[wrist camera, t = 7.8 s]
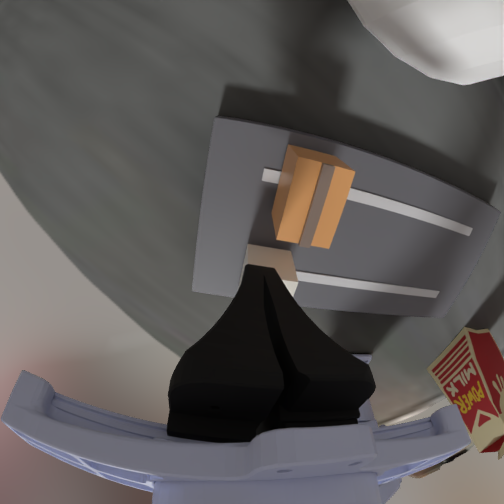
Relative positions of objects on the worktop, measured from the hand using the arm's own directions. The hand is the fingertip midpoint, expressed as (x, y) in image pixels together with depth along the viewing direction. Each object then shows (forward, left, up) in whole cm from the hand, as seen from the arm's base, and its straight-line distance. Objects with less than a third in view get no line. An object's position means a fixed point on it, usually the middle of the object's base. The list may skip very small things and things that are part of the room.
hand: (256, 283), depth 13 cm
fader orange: (+3, -2, -6) cm, 7 cm away
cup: (+19, -7, -9) cm, 22 cm away
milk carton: (-15, -35, -9) cm, 39 cm away
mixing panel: (0, -9, -9) cm, 13 cm away
